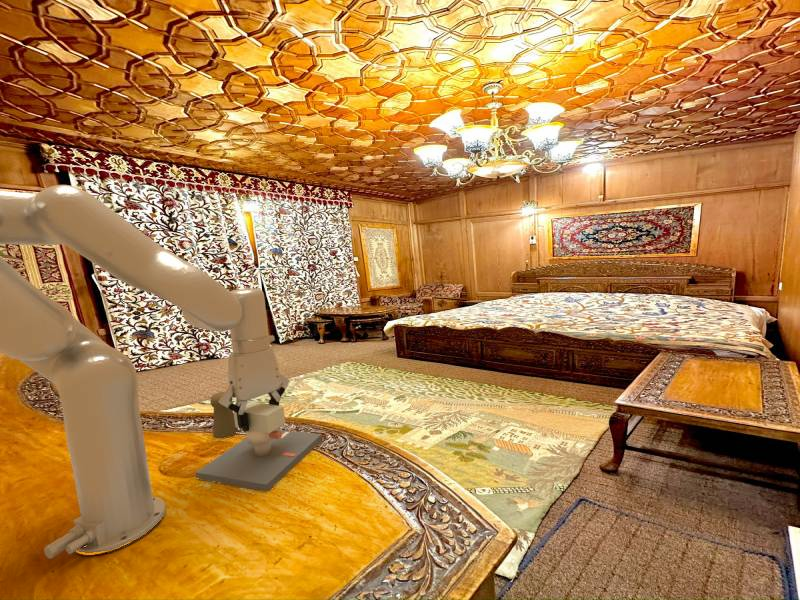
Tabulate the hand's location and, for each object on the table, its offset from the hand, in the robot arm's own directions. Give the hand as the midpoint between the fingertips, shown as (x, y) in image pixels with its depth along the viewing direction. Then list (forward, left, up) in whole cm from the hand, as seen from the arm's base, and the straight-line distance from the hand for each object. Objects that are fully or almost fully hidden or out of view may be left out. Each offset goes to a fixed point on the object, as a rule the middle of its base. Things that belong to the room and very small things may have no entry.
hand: (260, 422), depth 80 cm
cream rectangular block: (0, 0, -4) cm, 4 cm away
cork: (+8, +19, -9) cm, 22 cm away
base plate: (0, 0, -8) cm, 8 cm away
